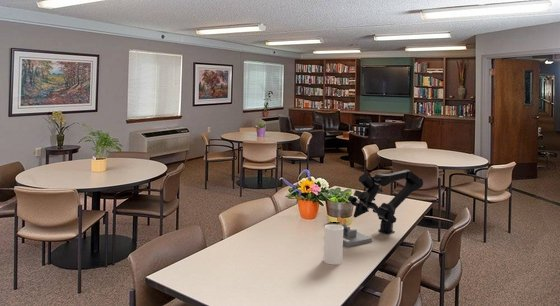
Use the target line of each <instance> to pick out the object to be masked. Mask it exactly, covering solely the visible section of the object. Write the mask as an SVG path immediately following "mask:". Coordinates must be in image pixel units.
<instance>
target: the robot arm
mask: <svg viewBox="0 0 560 306" xmlns="http://www.w3.org/2000/svg"><path fill="white" fill-rule="evenodd" d="M400 180H405V182H404V183H405V185H404V186H403V188H402V189H401V190H400V191H399V192H398V193H397V194H396V195H395V196H394V197H392V199H391V200H390V201H389V202H388V203H387V202H383V203H381V205H379V206H378V205H377V204H376V202H375V201H376V197H377V195H378V194H379V193H383V191H384V190H383V187H386V186H388V185H390V184H391V183H393V182H397V181H400ZM358 182H359V183H360V184H361V185H362V187H364V189H366V190H363V191H361V190H357V189H354V190H355V191H354V193H353V195H349V197H348V198H347V200H348V201H349V203H350V204H351V205H352V206H354V207H355V209H354V214H353V218H358V217H360V216H361V215H364V214H366V213H369V211H370V209H372V213H373V214H376V215H377V217H378V220H380V226H379V227H380V229H378V232H380V233H384V234H386V235H387V234H388V235H389V234H392V233H395V230H394V229H393V228H394V224H395V223H396V222H397V217H396V216H395V213H396V210H397V208H398V207H399V206H400V205H401V204H402V203H403V202H404V201H405V200H406V199H407V198H408V197H409V196H410V195H411V194H412V193H414V192H416V191H419V190H420V189H421V188H422V187H423V186H424V180H423V179H422V178H421V177H419V176H418V175H416V174H414V173H413V171H411V170H409V169H402V170H399V171H395V172H391V173H376V174H374V175H373V176H372V175H371V173H370V172H368V171H366V172H365V173H363V174H361V175H360V176H359V177H358ZM380 186H381V187H380Z"/></svg>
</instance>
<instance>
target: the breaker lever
mask: <svg viewBox="0 0 560 306" xmlns="http://www.w3.org/2000/svg"><path fill="white" fill-rule="evenodd" d="M337 221H338V222H339V224H340V225H341V226H343V227H344V229H345V231H346V233H347V232H348V231H349V229H348V227H349V226H347V223H348V222H347V219H346V218H345V217H344V218H341V217H338V218H337Z"/></svg>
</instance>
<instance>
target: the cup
mask: <svg viewBox="0 0 560 306" xmlns="http://www.w3.org/2000/svg"><path fill="white" fill-rule="evenodd" d="M323 242H324V244H323V262H324V263H325V264H328V265H332V264H333V265H334V266H336V265H341V264H342V263H343V246H344V245H343V226H342V224H338V223H331V224H325V226H324V241H323Z"/></svg>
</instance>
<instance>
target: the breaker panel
mask: <svg viewBox="0 0 560 306" xmlns="http://www.w3.org/2000/svg"><path fill="white" fill-rule="evenodd" d="M347 227H348V229H349V231H348V232H347V233H346V231H345V229H344V227H343V246H345V247H347V248H350V247H356V246H359V245H363V244H369V243H371V242H373V238H372V237H371V236H368V235H366V234H363V233H361V232H358V230H357V229H351V227H350V226H347Z"/></svg>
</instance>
